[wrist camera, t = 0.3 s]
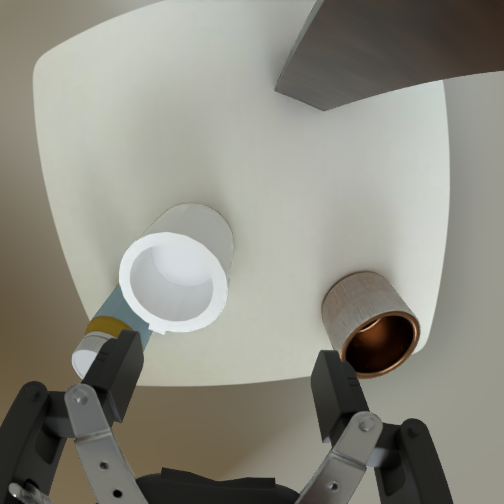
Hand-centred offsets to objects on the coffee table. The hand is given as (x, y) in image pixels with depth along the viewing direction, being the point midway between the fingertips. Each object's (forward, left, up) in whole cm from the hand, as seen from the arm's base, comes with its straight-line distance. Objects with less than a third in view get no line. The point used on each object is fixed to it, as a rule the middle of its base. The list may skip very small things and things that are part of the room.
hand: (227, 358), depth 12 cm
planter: (0, +20, -23) cm, 31 cm away
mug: (+7, -3, -23) cm, 25 cm away
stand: (-18, -4, -23) cm, 29 cm away
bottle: (+17, -5, -23) cm, 29 cm away
